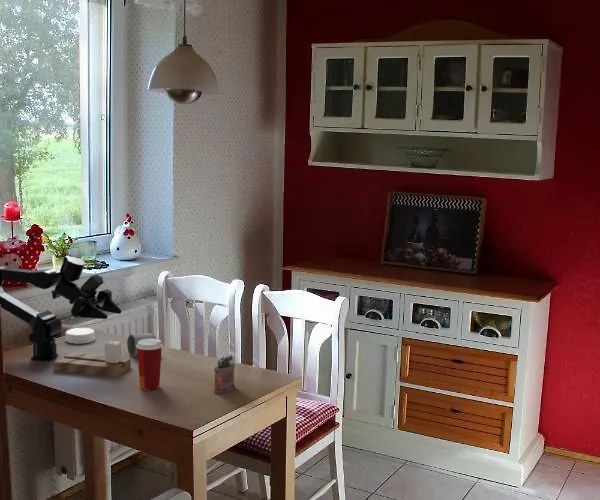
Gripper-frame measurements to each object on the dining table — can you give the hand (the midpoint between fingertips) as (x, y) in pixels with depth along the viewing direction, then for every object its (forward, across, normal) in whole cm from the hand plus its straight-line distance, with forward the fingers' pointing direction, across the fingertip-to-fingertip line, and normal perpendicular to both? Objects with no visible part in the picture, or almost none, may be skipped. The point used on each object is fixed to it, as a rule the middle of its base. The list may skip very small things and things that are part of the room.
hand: (114, 314), depth 237 cm
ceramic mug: (+8, +16, +15) cm, 23 cm away
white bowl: (-17, +24, +25) cm, 38 cm away
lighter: (+44, -8, +1) cm, 45 cm away
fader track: (+2, -4, +18) cm, 18 cm away
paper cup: (+24, -13, +9) cm, 29 cm away
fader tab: (+8, -4, +13) cm, 16 cm away
